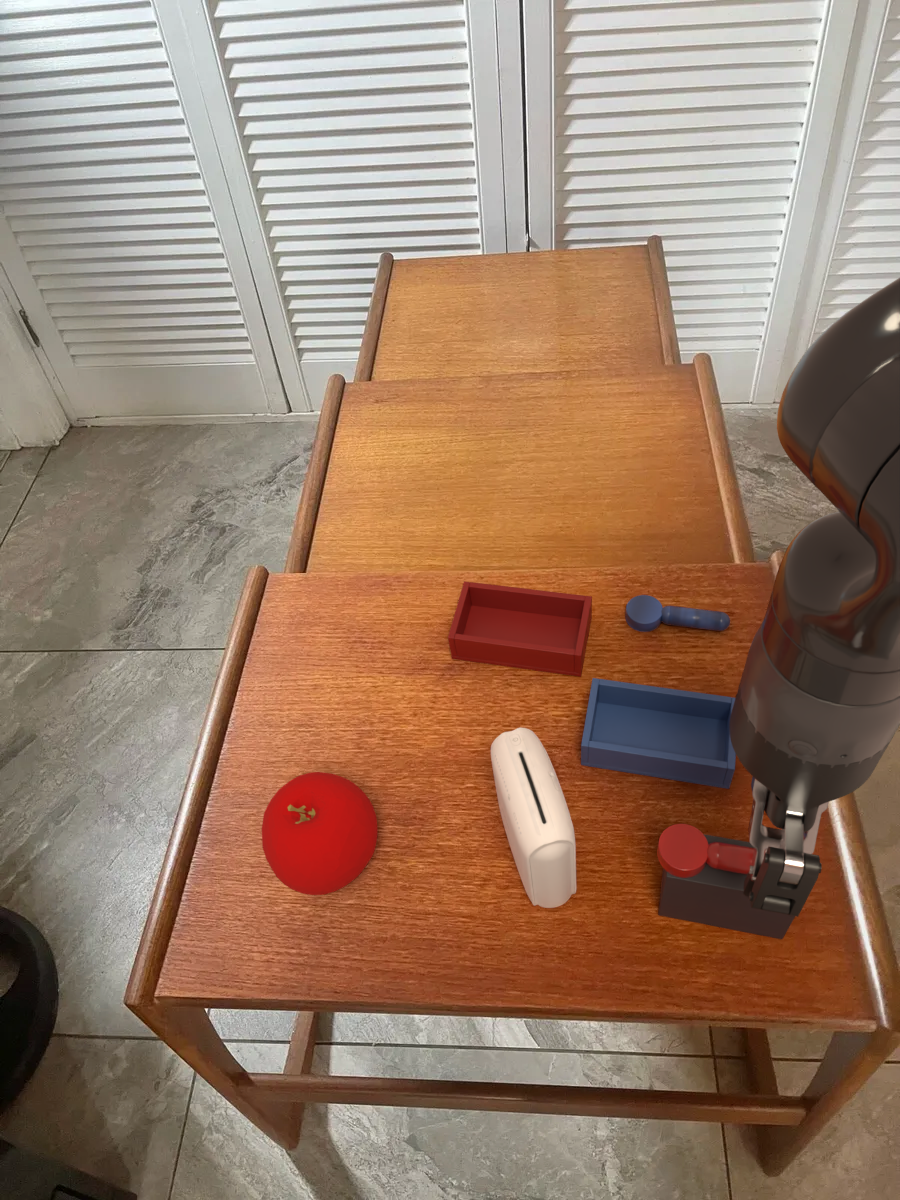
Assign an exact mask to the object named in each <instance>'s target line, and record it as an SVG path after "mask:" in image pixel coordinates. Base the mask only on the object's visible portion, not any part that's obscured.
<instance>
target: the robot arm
mask: <svg viewBox="0 0 900 1200" xmlns="http://www.w3.org/2000/svg"><path fill="white" fill-rule="evenodd" d="M776 431H777V436H778V440H779V442H780V445H781V447H782V449H783V450H784V452H785V454H786V455H787V457H788V459H789V460H790V461H791V462H792V463H793V464H794V465H795V467H797V468H798V470H799V471H800V472H801V473H802V474H803V476H804V477H805V478H807V480H809V482H810V483H811V484H812V485H813V486H814V487H815V488H816V489H817V490H819V491H820V493H822V495H823V496H824V497H825V498H826V499H827V500H828V501H829V502H830V503H831V504H832V506H834V507H835V509H836V510H837V511H834V512H830V513H828V514H825V515H823V516H820V517H818V518H815V519H814V520H812V521H810V522H809V523H808V524H806V525H805V526H804V527H802V528H801V530H800V531H799V532H797V533H796V535H795V536H794V537H793V539H792V540H791V541H790V543H789V545H788V546H787V548H786V550H785V551H784V554H783V556H782V559H781V561H780V564H779V566H778V569H777V571H776V575H775V580H774V582H773V587H772V590H771V594H770V597H769V600H768V603H767V608H766V610H765V615H764V617H763V620H762V622H761V623H760V626H759V627H758V629H757V631H756V632H755V634H754V636H753V639H752V640H751V644H750V646H749V649H748V652H747V656H746V660H745V663H744V666H743V670H742V674H741V677H740V681H739V684H738V688H737V691H736V695H735V697H734V698H735V702H734V705H733V709H732V713H731V717H730V724H729V730H730V738H731V743H732V746H733V749H734V751H735V753H736V757H737V759H738V761H739V762H740V763H741V765H742V766H743V768H744V769H745V770H746V771H747V772H748V773H749V775H751V776H752V777H751V783H750V788H751V796H752V804H751V810H750V815H749V816H750V817H749V822H748V828H747V831H748V839H749V842H750V844H751V845H752V846H753V847H754V853H753V858H752V864H751V865H749V871H748V874H747V876H746V879H745V881H744V891H743V894H744V895H745V896H747V897H749V901H750V902H751V908H755V909H761V910H765V911H771V912H776V913H781V914H786V915H791V916H795V918H796V917H799V916H800V914H801V912H802V911H803V907H804V906H805V904H806V902H807V900H808V898H809V896H810V894H811V892H812V890H813V889H814V887H815V884H816V882H817V881H818V879H819V875H820V874H821V873H822V869H823V868H822V866H823V865H822V862H821V858H820V855H819V854H814V852H815V848H816V844H817V838H818V833H819V827H820V823H821V817H822V814H823V813H824V812H825V811H826V810H827V809H828V807H829V804H830V802H832V801H835V800H838V799H840V798H844V797H846V796H848V795H850V794H852V793H853V792H855V791H856V790H858V789H859V788H861V787H862V786H863V785H864V784H865V783H866V782H867V781H868V780H869V779H870V777H871V776H872V775H873V773H874V771H875V769H876V768H877V766H878V764H879V762H880V760H881V759H882V757H883V755H884V753H885V752H886V750H887V748H888V747H889V745H890V744H891V742H892V740H893V738H894V737H895V734H896V732H897V731H898V729H899V728H900V277H898V278H896V279H895V280H894V281H892V282H890V283H888V284H887V285H885V286H884V287H882V288H880V289H879V290H878V291H876V292H874V293H873V294H871V295H870V296H868V297H867V298H865V299H864V300H862V301H861V302H859V303H858V304H857V305H855V306H854V307H852V308H851V309H849V310H847V312H845V313H844V314H843V315H841V316H840V317H839V318H838V319H836V320H835V321H834V322H833V323H832V324H831V325H830V326H829V327H828V328H827V329H825V330H824V331H823V332H822V333H821V334H820V335H819V336H818V337H817V338H816V339H815V340H814V342H813V343H812V344H811V345H810V346H809V347H808V348H807V350H805V352H804V353H803V354H802V356H801V357H800V359H799V360H798V362H797V364H796V365H795V367H794V368H793V370H792V372H791V374H790V375H789V377H788V380H787V381H786V384H785V387H784V389H783V391H782V393H781V398H780V401H779V404H778V409H777V417H776ZM764 814H766V816H767V818H768V819H769V821H770V822H771V824H772V825H773V826H774V827H769V826H766V825H763V820H764Z"/></svg>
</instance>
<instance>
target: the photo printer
mask: <svg viewBox="0 0 900 1200" xmlns="http://www.w3.org/2000/svg"><path fill="white" fill-rule="evenodd" d="M490 761H491V766H492V773H493V774H492V775H493V779H494V785H495V791H496V797H497V803H498V807H499V813H500V818H501V820H502V824H503V828H504V830H505V831H504V832H505V835H506V837H507V841H508V845H509V848H510V850H511V854H512V857H513V860H514V863H515V867H516V869H517V871H518V874H519V877H520V880H521V882H522V885H523V888H524V890H525V893H526V895H527V897H528V899H529V900H530V902H531V904H532V905H533V906H534V907H535V906H539V907H540V908H544V909H545V908H546V909H554V908H558V907H561V906H562V905H564V904H566V903H567V902H568V901H569V899H570V898H571V897H572V895H574V894H576V893H577V889H578V888H577V846H576V845H577V844H576V835H575V828H574V823H573V821H572V818H571V813H570V810H569V807H568V804H567V801H566V798H565V794H564V792H563V788H562V787H561V784H560V780H559V779H558V775H557V773H556V770H555V768H554V765H553V763H552V761H551V758H550V756H549V754H548V752H547V750H546V748H545V746H544V745H543V743H542V741H541V739H540V737H538V736H537V734H536V733H535V732H534V731H533V730H532V729H530V728H527V727H517V728H515V729H513V730H509V731H504V732H502V733H500V734H499V735H498V736H497V737H496V738H494V740H493V741H492V743H491V745H490Z"/></svg>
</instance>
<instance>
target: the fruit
mask: <svg viewBox="0 0 900 1200" xmlns="http://www.w3.org/2000/svg"><path fill="white" fill-rule="evenodd" d="M378 829H379V828H378V818H377V813H376V810H375V808H374V805H373V804H372V801H371V800H370V799H369V797H368V796H367V794H366V793H365V792H364V791H363V790H362V789H361V788H360V787H359V786H358V785H357V784H356V783H354V782H353V781H352V780H350V779H348V778H346V777H344V776H340V775H337V774H334V773H333V772H331V773H330V772H321V771H313V772H307V773H303V774H300V775H297V776H296V777H294V778H292V779H291V780H289V781H288V782H287V783H285V784H284V785H283V786H281V787H280V788H279V789H278V790H277V791H276V792H275V794H274V795H273V796H272V798H271V799H270V800H269V802H268V804H267V806H266V808H265V810H264V812H263V817H262V823H261V845H262V846H261V847H262V850H263V854H264V857H265V859H266V861H267V863H268V865H269V867H270V869H271V870H272V872H273V873H274V875H275V877H276V878H277V879H278V880H279V881H280V882H281V883H282V884H283V885H284V886H286V887H287V888H288V889H290V890H293V891H295V892H297V893H300V894H303V895H309V896H322V895H323V896H324V895H329V894H331V893H334V892H337V891H338V890H340V889H343V888H344V887H346V886H347V885H349V884H350V883H352V882H353V881H354V880H356V879H357V878H358V877H359V876H360V874H361V873H362V872H363V871H364V869H365V868H366V866H367V865H368V864H369V862H370V861H371V859H372V857H373V856H374V853H375V850H376V846H377V840H378V835H379V834H378Z"/></svg>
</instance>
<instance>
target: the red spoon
mask: <svg viewBox="0 0 900 1200" xmlns="http://www.w3.org/2000/svg"><path fill="white" fill-rule="evenodd" d="M703 834H704V833H703V832H702V831H701V830H700V829H698V828H697V827H695V826H693V825H690V824H687V823H675V824H672V825H670V826H667V827H666V828H665V829H664V830H663V831H662V832H661V834H660V836H659V839H658V843H657V849H656V855H657V859H658V862H659V864H660V866H661V867H662V869H663V868H664V869H665V870H666V871H667V872H669V873H670V874H672V875H674V876H677V877H681V878H688V877H693V876H695V875H697V874H699V873H700V872H701V871H702V870H703V869H704V867H705V865H706V863H707V864H708V865H709V866H710V867H712V868H714V869H719V870H724V871H730V872H736V873H741V874H748V871H749V865H751V864H752V858H753V853H754V848H749V847H744V846H738V845H732V844H727V843H721V842H713V843H710V844H709V845H708V841H707V839H706V837H705V836H704V835H703Z"/></svg>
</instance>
